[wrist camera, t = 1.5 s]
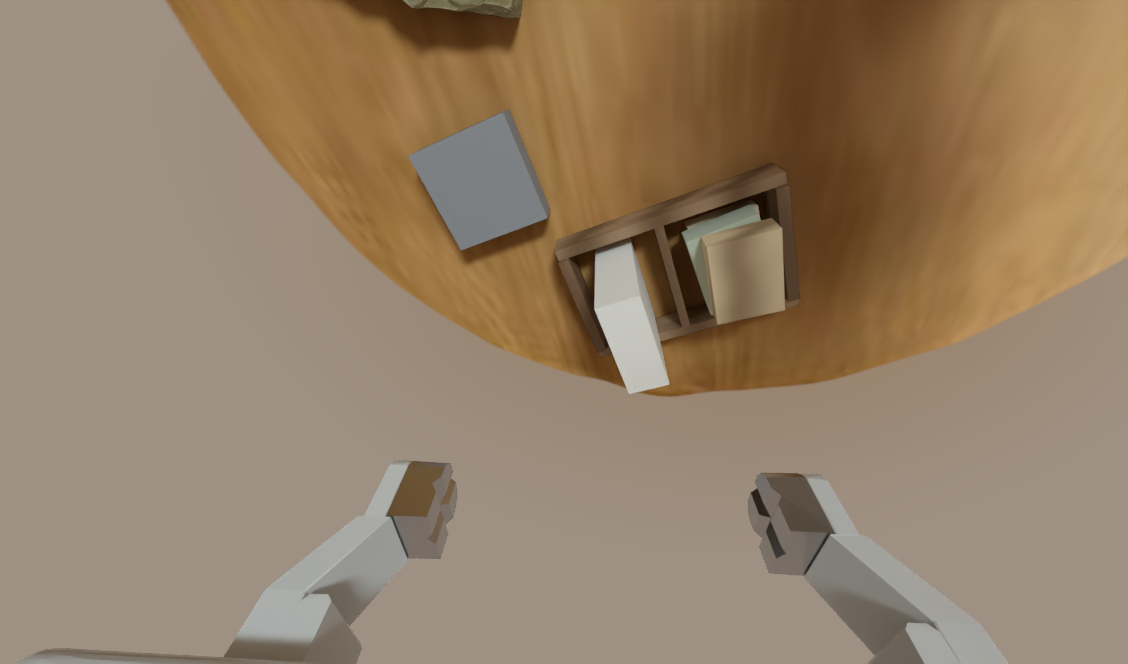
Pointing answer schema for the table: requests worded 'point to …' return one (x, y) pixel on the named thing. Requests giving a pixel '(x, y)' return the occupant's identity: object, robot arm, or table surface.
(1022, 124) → the table surface
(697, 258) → the block
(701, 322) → the walnut rack
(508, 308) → the table surface
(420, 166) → the slate plinth
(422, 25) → the table surface
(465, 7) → the decorative tile
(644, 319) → the tall white box
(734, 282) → the offcut top
